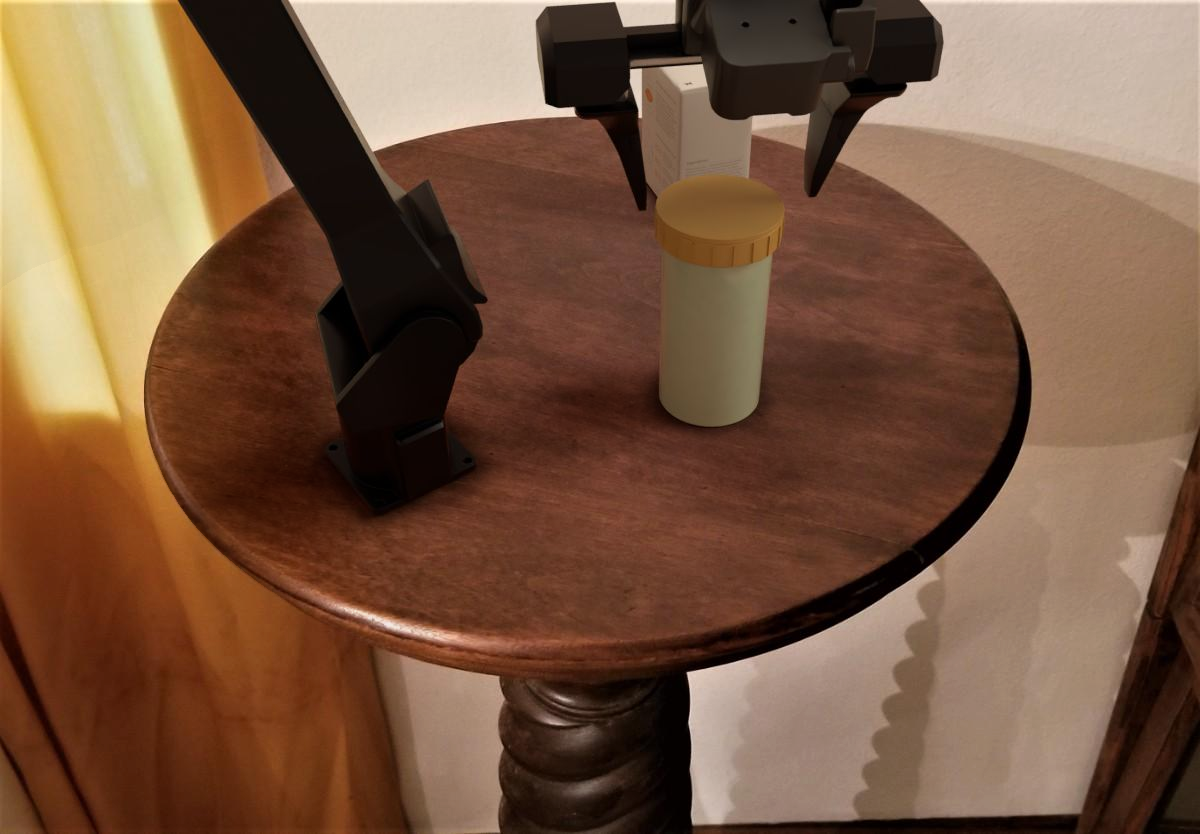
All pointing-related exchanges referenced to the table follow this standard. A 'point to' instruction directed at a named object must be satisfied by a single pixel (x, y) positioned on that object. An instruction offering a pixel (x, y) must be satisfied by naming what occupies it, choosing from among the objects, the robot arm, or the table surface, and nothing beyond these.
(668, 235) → the jar lid
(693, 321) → the jar
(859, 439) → the table surface
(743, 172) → the small box
